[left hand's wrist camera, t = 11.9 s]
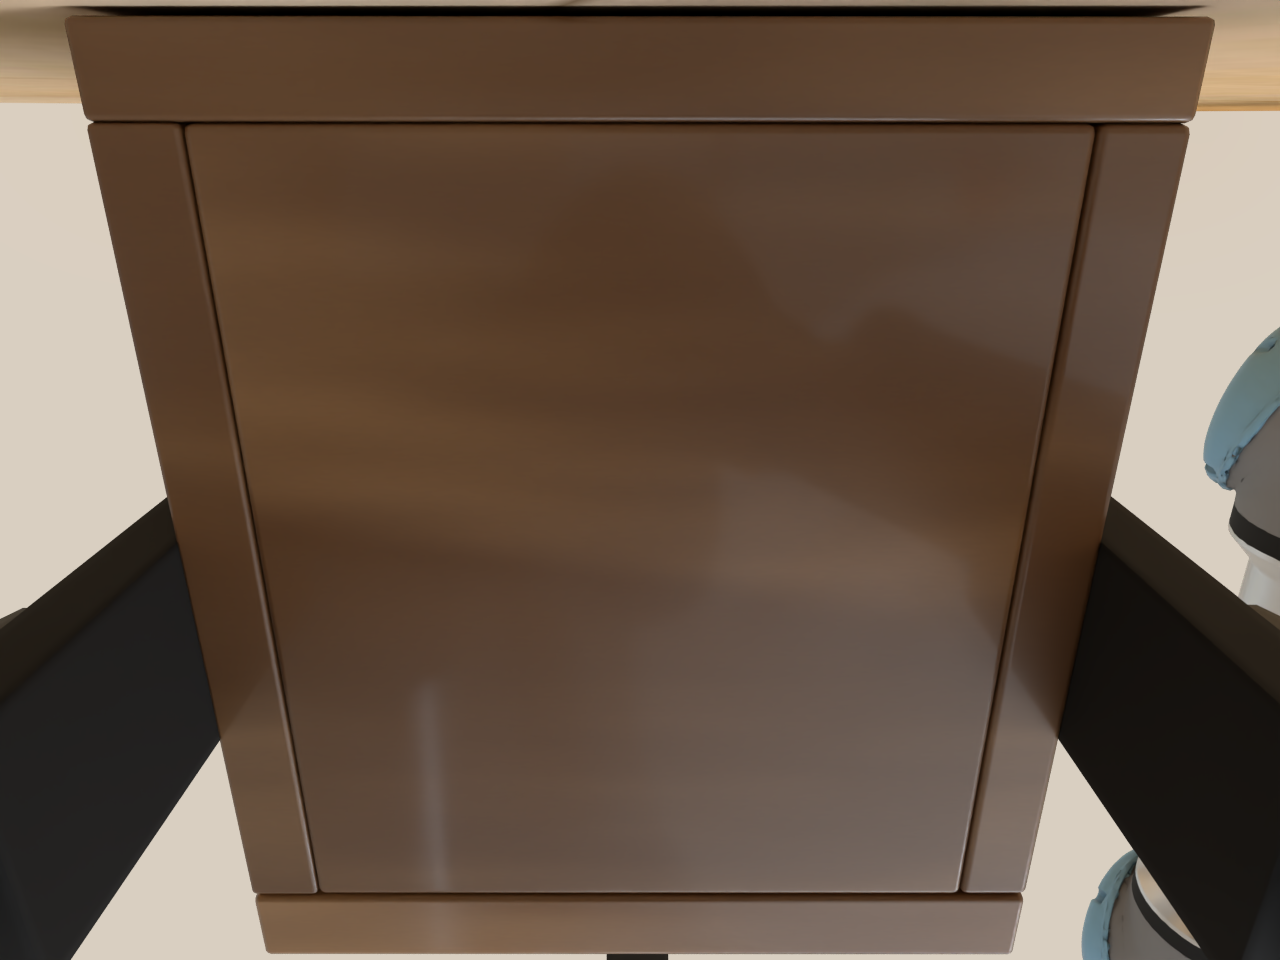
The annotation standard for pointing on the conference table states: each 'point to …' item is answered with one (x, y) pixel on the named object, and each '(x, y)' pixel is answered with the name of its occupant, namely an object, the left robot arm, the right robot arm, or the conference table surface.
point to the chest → (638, 425)
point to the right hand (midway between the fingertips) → (633, 816)
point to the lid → (639, 923)
